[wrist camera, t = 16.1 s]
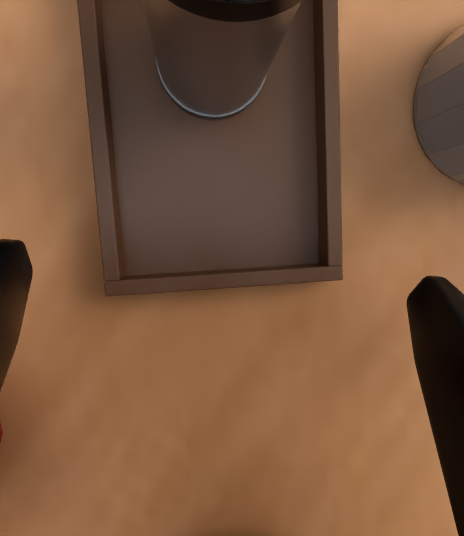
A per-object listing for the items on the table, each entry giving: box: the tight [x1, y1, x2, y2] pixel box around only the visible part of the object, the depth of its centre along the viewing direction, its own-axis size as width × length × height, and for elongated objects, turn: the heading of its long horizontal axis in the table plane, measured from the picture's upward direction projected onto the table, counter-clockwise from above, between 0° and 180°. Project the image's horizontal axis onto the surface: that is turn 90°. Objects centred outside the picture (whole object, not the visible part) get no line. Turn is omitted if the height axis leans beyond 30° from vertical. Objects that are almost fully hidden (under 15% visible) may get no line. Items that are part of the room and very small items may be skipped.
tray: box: [77, 0, 343, 296], centre depth 20 cm, size 17×13×2 cm
